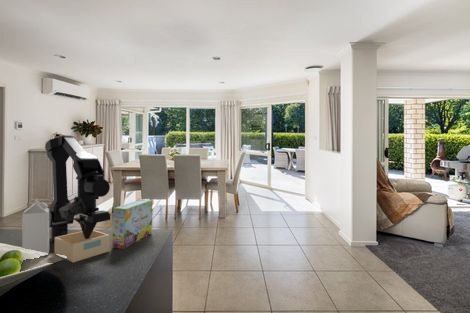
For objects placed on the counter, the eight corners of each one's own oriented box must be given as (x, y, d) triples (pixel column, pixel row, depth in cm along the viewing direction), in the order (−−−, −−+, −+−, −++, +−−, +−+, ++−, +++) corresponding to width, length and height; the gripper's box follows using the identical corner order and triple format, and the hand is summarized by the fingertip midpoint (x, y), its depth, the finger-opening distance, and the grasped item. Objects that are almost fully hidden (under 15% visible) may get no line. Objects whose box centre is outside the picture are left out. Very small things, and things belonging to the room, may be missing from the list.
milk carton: (22, 259, 99) (21, 202, 99) (25, 252, 106) (25, 198, 105) (47, 256, 103) (47, 200, 102) (49, 249, 109) (49, 197, 108)
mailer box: (54, 254, 104) (54, 237, 104) (90, 244, 115) (90, 229, 115) (71, 262, 98) (71, 243, 98) (108, 251, 109) (108, 234, 109)
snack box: (125, 249, 111) (125, 208, 110) (111, 248, 112) (111, 207, 111) (152, 233, 132) (152, 198, 131) (140, 232, 133) (141, 198, 132)
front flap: (72, 262, 98) (72, 243, 98) (108, 250, 109) (108, 234, 108) (73, 262, 97) (73, 244, 97) (109, 251, 108) (109, 234, 108)
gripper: (48, 193, 103) (48, 239, 103) (78, 199, 92) (78, 250, 93) (80, 190, 112) (80, 232, 112) (111, 195, 101) (111, 241, 102)
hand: (87, 238), depth 105 cm, fingers closed
